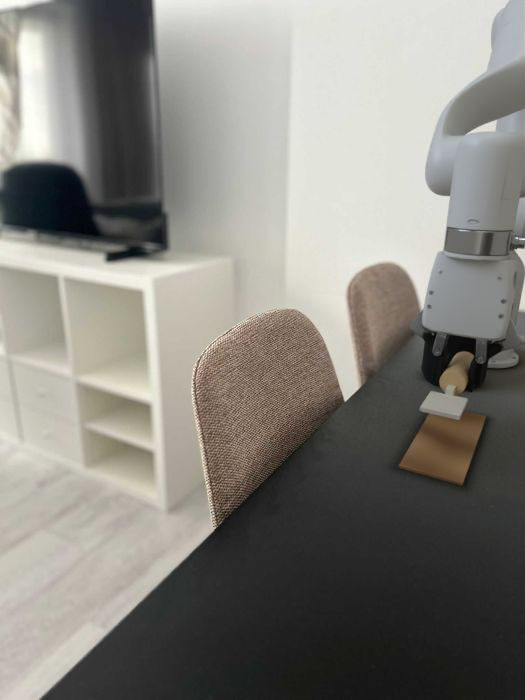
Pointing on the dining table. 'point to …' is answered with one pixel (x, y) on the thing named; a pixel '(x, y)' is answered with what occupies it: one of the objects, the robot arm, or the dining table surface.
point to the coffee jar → (450, 355)
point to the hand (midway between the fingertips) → (455, 383)
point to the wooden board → (444, 447)
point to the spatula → (450, 389)
